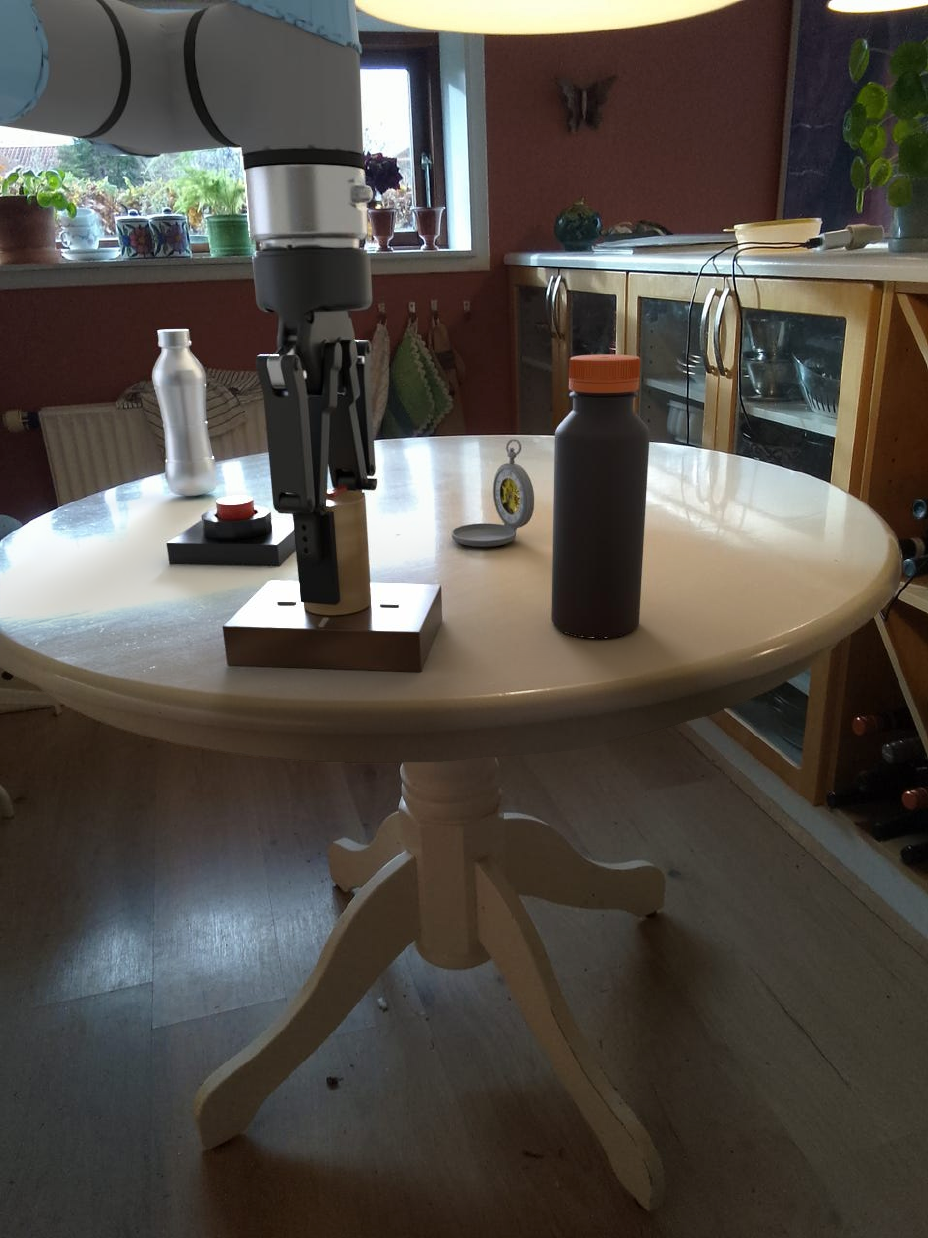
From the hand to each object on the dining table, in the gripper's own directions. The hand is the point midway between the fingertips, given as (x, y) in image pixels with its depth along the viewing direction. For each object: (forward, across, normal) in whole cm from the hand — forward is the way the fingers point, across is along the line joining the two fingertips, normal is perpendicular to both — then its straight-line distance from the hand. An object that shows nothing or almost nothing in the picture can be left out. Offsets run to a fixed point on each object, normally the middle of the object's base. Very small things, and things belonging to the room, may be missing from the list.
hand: (336, 588), depth 66 cm
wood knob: (+1, 0, 0) cm, 1 cm away
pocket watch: (+4, +29, -5) cm, 30 cm away
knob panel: (+4, 0, 0) cm, 4 cm away
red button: (+1, +20, +19) cm, 27 cm away
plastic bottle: (+4, +41, +37) cm, 56 cm away
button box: (+4, +20, +19) cm, 28 cm away
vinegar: (+4, +8, -18) cm, 20 cm away
